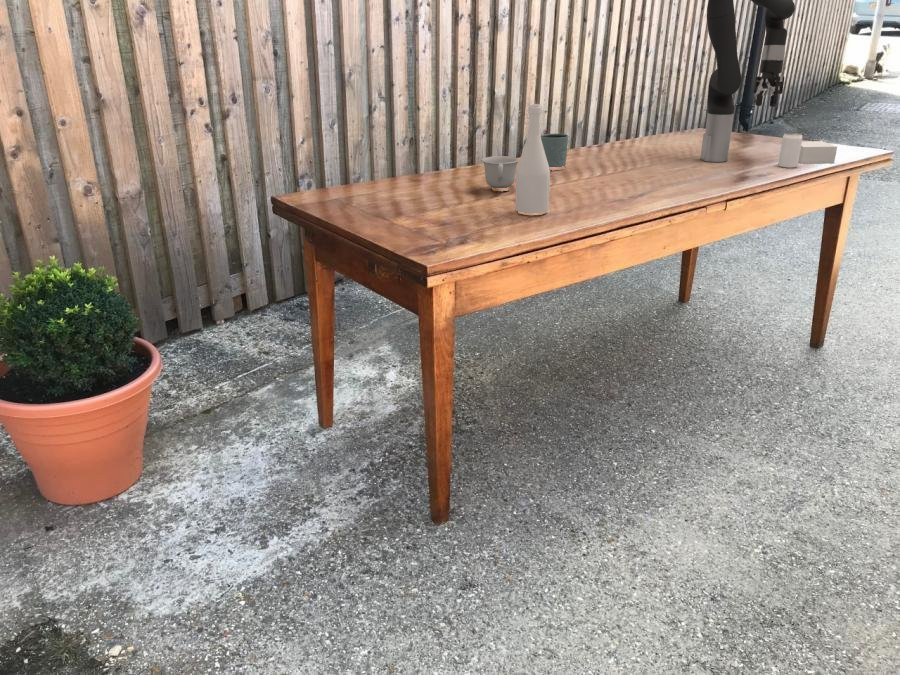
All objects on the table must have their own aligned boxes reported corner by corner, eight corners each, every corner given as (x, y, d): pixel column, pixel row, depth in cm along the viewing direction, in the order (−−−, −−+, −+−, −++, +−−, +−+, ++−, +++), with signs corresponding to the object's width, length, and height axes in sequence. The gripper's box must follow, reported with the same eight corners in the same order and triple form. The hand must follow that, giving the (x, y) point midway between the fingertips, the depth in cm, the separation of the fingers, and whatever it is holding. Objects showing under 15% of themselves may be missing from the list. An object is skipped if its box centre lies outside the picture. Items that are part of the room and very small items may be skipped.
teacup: (481, 196, 228) (481, 164, 224) (481, 186, 241) (482, 156, 237) (519, 196, 227) (520, 164, 223) (518, 186, 240) (518, 155, 236)
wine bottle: (547, 208, 212) (551, 102, 200) (549, 217, 204) (553, 106, 191) (515, 208, 213) (517, 102, 201) (515, 217, 204) (517, 106, 192)
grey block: (801, 163, 267) (804, 147, 264) (788, 157, 277) (790, 141, 275) (834, 163, 266) (837, 146, 264) (819, 157, 277) (822, 141, 275)
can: (800, 168, 259) (806, 133, 254) (782, 168, 259) (788, 134, 254) (792, 164, 265) (798, 131, 260) (775, 164, 265) (780, 131, 260)
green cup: (568, 171, 262) (570, 137, 257) (540, 171, 262) (542, 137, 257) (564, 165, 271) (566, 133, 266) (537, 166, 271) (538, 133, 266)
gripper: (751, 59, 266) (745, 105, 272) (775, 58, 253) (768, 106, 258) (769, 60, 268) (762, 105, 273) (794, 58, 254) (786, 106, 260)
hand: (765, 106), depth 266 cm, fingers open, 8 cm apart
